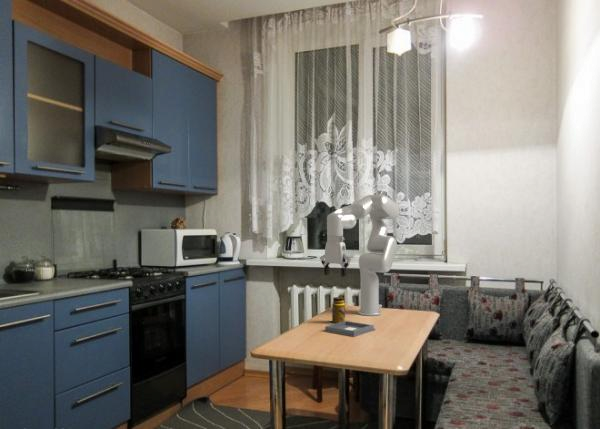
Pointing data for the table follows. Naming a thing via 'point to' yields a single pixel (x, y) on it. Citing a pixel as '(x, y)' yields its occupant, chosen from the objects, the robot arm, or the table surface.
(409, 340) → the table surface
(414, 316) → the table surface
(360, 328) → the dock
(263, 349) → the table surface
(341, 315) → the condiment
